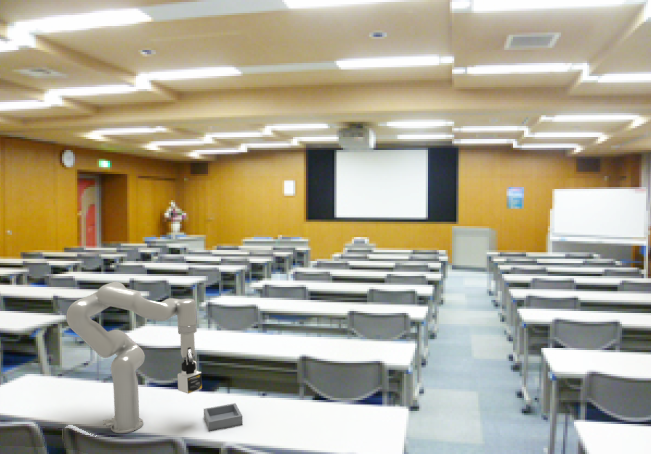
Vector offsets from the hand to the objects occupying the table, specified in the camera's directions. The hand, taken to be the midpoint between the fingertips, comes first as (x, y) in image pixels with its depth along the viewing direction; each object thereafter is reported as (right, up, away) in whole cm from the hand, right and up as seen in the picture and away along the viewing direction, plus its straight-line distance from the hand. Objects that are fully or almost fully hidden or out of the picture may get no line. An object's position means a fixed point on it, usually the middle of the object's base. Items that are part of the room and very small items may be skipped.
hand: (189, 370), depth 200 cm
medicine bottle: (0, -8, 0) cm, 8 cm away
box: (+13, -23, +5) cm, 27 cm away
